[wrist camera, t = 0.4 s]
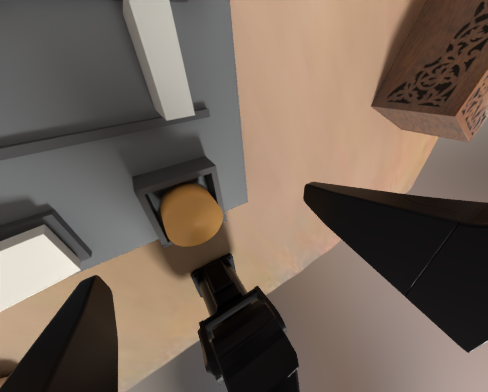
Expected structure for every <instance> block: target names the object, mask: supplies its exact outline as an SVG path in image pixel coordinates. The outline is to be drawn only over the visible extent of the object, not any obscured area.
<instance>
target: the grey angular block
mask: <svg viewBox="0 0 488 392" xmlns="http://www.w3.org/2000/svg"><path fill="white" fill-rule="evenodd" d="M123 16H124V19H125V21H126V24H127V27H128V30H129V33H130V36H131V39H132V42H133V45H134V48H135V51H136V54H137V57H138V60H139V63H140V66H141V69H142V72H143V75H144V78H145V81H146V84H147V87H148V90H149V93H150V96H151V99H152V102H153V105H154V108H155V110H156V111H157V112H158V113H159V114H160V115H161V116H162V117H163V118H164V119H165V120H166V121H168V120H173V119H178V118H183V117H188V116H193V115H195V113H194V108H193V104H192V99H191V95H190V90H189V86H188V81H187V77H186V73H185V68H184V64H183V59H182V55H181V50H180V46H179V41H178V37H177V32H176V28H175V24H174V19H173V15H172V10H171V6H170V1H169V0H123Z"/></svg>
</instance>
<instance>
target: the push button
mask: <svg viewBox="0 0 488 392" xmlns="http://www.w3.org/2000/svg"><path fill="white" fill-rule="evenodd" d="M159 209H160V213H161V217H162V220H163V224H164V227H165V230H166V234H167V236H168V238H169V240H170V241H171V242H173V243H174V244H176V245H179V246H184V247H190V246H196V245H199V244H202V243H204V242H206V241H207V240H209V239H210V238H212V237H213V236H214V235H215V234H216V233H217V231H218V230H219V228H220V227H221V224H222V221H223V213H222V210H221V208H220V206H219V205H218V204H217V202H216V201H215V200H214V199H213V197H212V196H211V195H210V193H209V192H208V191H207V189H206V188H205V187H204V186H202V185H201V184H199V183H196V182H182V183H179V184H176V185H174V186H172V187H170V188H169V189H168V190H167V191H166V192H165V193H164V194H163V196H162V198H161V200H160V204H159Z"/></svg>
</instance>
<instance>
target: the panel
mask: <svg viewBox="0 0 488 392" xmlns="http://www.w3.org/2000/svg"><path fill="white" fill-rule="evenodd" d="M169 1H170V6H171V10H172V15H173V19H174V24H175V28H176V32H177V37H178V41H179V46H180V50H181V55H182V59H183V64H184V68H185V73H186V77H187V81H188V86H189V90H190V95H191V99H192V104H193V108H194V113H195V115H193V116H188V117H183V118H178V119H173V120H168V121H166V120H165V119H164V118H163V117H162V116H161V115H160V114H159V113H158V112H157V111H156V110H155V108H154V105H153V102H152V99H151V96H150V93H149V90H148V87H147V84H146V81H145V78H144V75H143V72H142V69H141V66H140V63H139V60H138V57H137V54H136V51H135V48H134V45H133V42H132V39H131V36H130V33H129V30H128V27H127V24H126V21H125V19H124V16H123V0H0V241H3V240H5V239H8V238H10V237H13V236H16V235H18V234H21V233H23V232H26V231H29V230H31V229H34V228H36V227H39V226H41V225H44V224H45V225H46V226H47V227H48V228H49V229H50V230H51V231H52V232H53V233H54V234H55V235H56V236H57V237H58V238H59V239H60V240H61V241H62V242H63V243H64V244H65V245H66V246H67V247H68V248H69V249H70V250H71V251H72V252H73V253H74V254H75V255H76V256H77V257H78V258H79V259H80V264H81V270H80V271H78V272H77V273H79V272H81V271H83V270H86V269H88V268H91V267H93V266H95V265H98V264H100V263H103V262H105V261H107V260H110V259H112V258H115V257H117V256H119V255H122V254H124V253H127V252H129V251H131V250H134V249H136V248H139V247H141V246H143V245H146V244H148V243H151V242H153V241H155V240H158V239H159V240H160V242H161V244H162V246H163V248H166V247H169V246H171V245H173V244H174V243H173V242H171V241H170V240H169V238H168V236H167V234H166V230H165V227H164V224H163V220H162V217H161V213H160V209H159V204H160V200H161V198H162V196H163V194H164V193H165V192H166V191H167V190H168V189H169V188H170V187H172V186H174V185H176V184H179V183H182V182H196V183H199V184H201V185H202V186H204V187H205V188H206V189H207V191H208V192H209V193H210V195H211V196H212V197H213V199H214V200H215V201H216V202H217V204H218V205H219V206H220V208H221V210H222V213H223V221H222V223H223V222H226V215H225V211H227V210H230V209H232V208H235V207H237V206H239V205H242V204H244V203H247V202H248V197H247V186H246V175H245V164H244V153H243V142H242V131H241V120H240V109H239V98H238V87H237V76H236V65H235V54H234V43H233V32H232V21H231V10H230V0H169ZM75 274H76V273H75ZM73 275H74V274H73Z"/></svg>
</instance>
